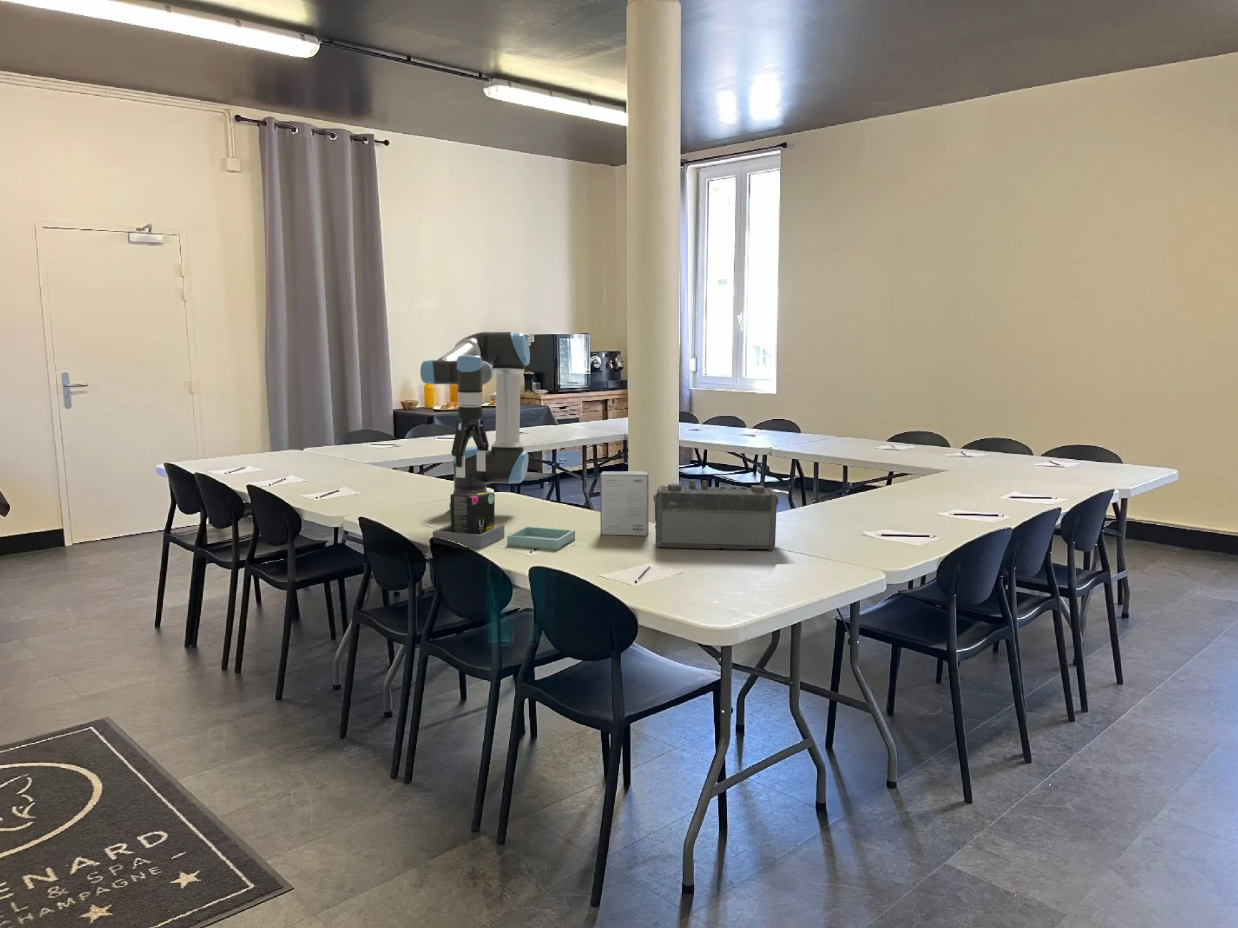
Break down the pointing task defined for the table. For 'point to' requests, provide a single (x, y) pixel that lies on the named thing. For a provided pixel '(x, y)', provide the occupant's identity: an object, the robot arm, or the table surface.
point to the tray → (541, 538)
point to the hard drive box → (624, 503)
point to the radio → (715, 517)
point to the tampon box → (472, 512)
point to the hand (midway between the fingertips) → (471, 474)
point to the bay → (471, 536)
